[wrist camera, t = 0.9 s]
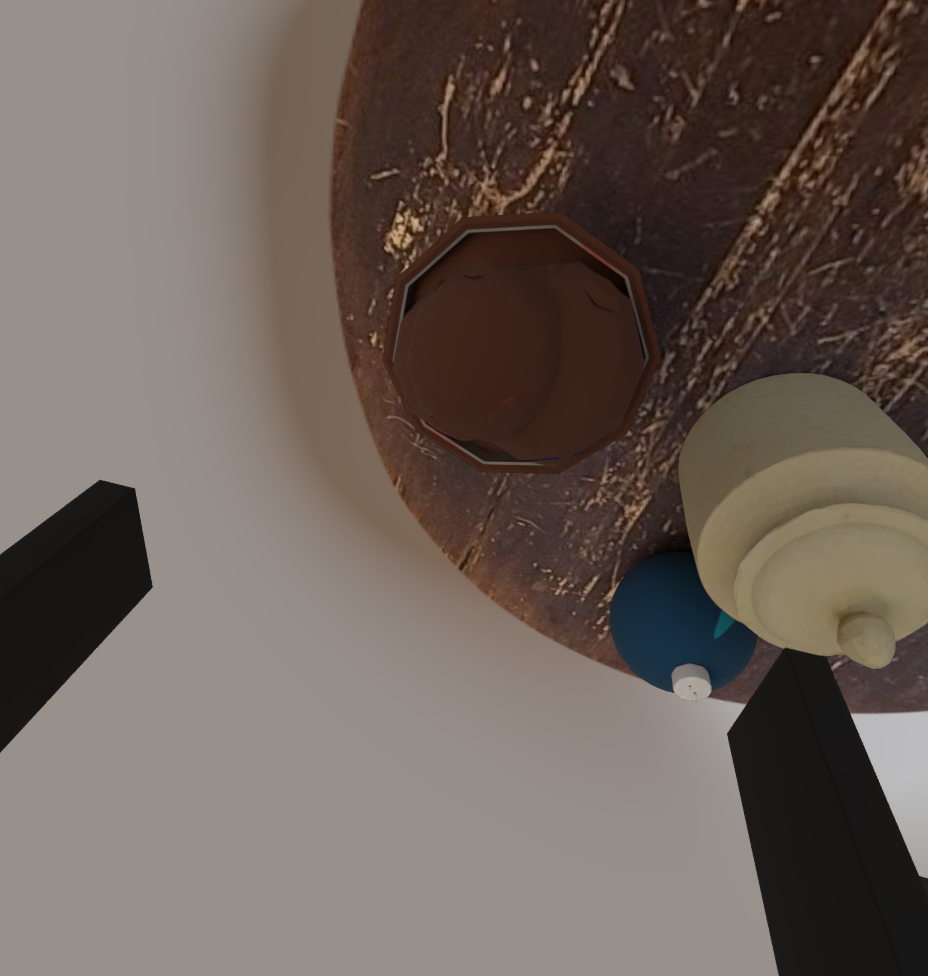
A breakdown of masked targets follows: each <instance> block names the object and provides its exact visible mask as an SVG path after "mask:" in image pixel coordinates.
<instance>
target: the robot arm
mask: <svg viewBox="0 0 928 976" xmlns="http://www.w3.org/2000/svg"><path fill="white" fill-rule="evenodd" d="M152 587H153V586H152V580H151V575H150V569H149V564H148V558H147V553H146V547H145V542H144V536H143V531H142V525H141V519H140V514H139V508H138V503H137V498H136V492H135V489H134V488H131V487H127V486H123V485H118V484H115V483H110V482H107V481H102V480H99V481H98V482H96V483H95V484H94V485H92V486H91V487H90V488H88V489H87V490H86V491H84V492H83V493H82V494H80V495H79V496H78V497H77V498H75V499H74V500H72V501H71V502H70V503H68V504H67V505H66V506H64V507H63V508H62V509H61V510H59V511H58V512H56V513H55V514H54V515H52V516H51V517H50V518H48V519H47V520H46V521H44V522H43V523H42V524H40V525H39V526H38V527H36V528H35V529H34V530H32V531H31V532H30V533H28V534H27V535H26V536H24V537H23V538H22V539H20V540H19V541H18V542H16V543H15V544H14V545H12V546H11V547H10V548H8V549H7V550H6V551H4V552H3V553H2V554H1V555H0V752H1V751H2V750H3V749H4V748H5V747H6V746H7V745H8V744H9V742H10V741H11V740H12V739H13V738H14V737H15V736H16V735H17V734H18V733H19V732H20V731H21V730H22V728H23V727H24V726H25V725H26V724H27V723H28V722H29V721H30V720H31V719H32V717H34V715H35V714H36V713H37V712H38V711H39V710H40V709H41V708H42V707H43V706H44V705H45V704H46V702H47V701H48V700H49V699H50V698H51V697H52V696H53V695H54V694H55V693H56V692H57V690H58V689H59V688H60V687H61V686H62V685H63V684H64V683H65V682H66V681H67V680H68V679H69V677H70V676H71V675H72V674H73V673H74V672H75V671H76V670H77V669H78V668H79V667H80V666H81V665H82V663H83V662H84V661H85V660H86V659H87V658H88V657H89V655H91V654H92V653H93V651H94V650H95V649H96V648H97V647H98V646H99V645H100V644H101V643H102V642H103V641H104V640H105V638H106V637H107V636H108V635H109V634H110V633H111V632H112V631H113V630H114V629H115V627H116V626H117V625H118V624H119V623H120V622H121V621H122V620H123V619H124V618H125V617H126V616H127V615H128V613H129V612H130V611H131V610H132V609H133V608H134V607H135V606H136V605H137V604H138V603H139V602H140V600H141V599H142V598H143V597H144V596H145V595H146V594H147V593H148V592H149V591H150V590H151V589H152ZM727 736H728V740H729V745H730V750H731V754H732V759H733V764H734V768H735V773H736V777H737V782H738V787H739V792H740V796H741V801H742V805H743V810H744V815H745V820H746V825H747V829H748V834H749V839H750V843H751V848H752V852H753V857H754V861H755V866H756V871H757V876H758V880H759V885H760V890H761V894H762V899H763V904H764V908H765V913H766V918H767V923H768V927H769V932H770V936H771V941H772V946H773V950H774V955H775V960H776V964H777V969H778V974H779V976H928V878H924V877H921V876H919V875H918V872H917V870H916V867H915V865H914V863H913V861H912V858H911V856H910V853H909V851H908V849H907V846H906V844H905V842H904V839H903V837H902V835H901V832H900V830H899V827H898V825H897V823H896V821H895V818H894V816H893V814H892V811H891V809H890V806H889V804H888V802H887V799H886V797H885V794H884V792H883V790H882V787H881V785H880V783H879V780H878V778H877V776H876V773H875V771H874V769H873V766H872V764H871V762H870V759H869V757H868V754H867V752H866V750H865V747H864V745H863V743H862V740H861V738H860V736H859V733H858V731H857V729H856V726H855V724H854V722H853V719H852V717H851V714H850V712H849V710H848V707H847V705H846V703H845V700H844V698H843V696H842V693H841V691H840V689H839V686H838V684H837V681H836V679H835V677H834V674H833V672H832V670H831V667H830V665H829V663H828V660H827V658H826V657H823V656H819V655H815V654H811V653H807V652H803V651H799V650H795V649H791V648H786V647H785V648H784V650H783V651H782V653H781V654H780V656H779V657H778V659H777V660H776V662H775V663H774V665H773V666H772V668H771V669H770V671H769V672H768V674H767V675H766V677H765V678H764V679H763V681H762V682H761V684H760V685H759V687H758V688H757V690H756V691H755V693H754V694H753V696H752V697H751V699H750V700H749V702H748V703H747V705H746V706H745V708H744V709H743V711H742V712H741V714H740V715H739V717H738V718H737V720H736V721H735V723H734V724H733V726H732V727H731V729H730V730H729V732H728V733H727Z"/></svg>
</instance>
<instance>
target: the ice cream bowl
mask: <svg viewBox="0 0 928 976" xmlns="http://www.w3.org/2000/svg"><path fill="white" fill-rule="evenodd" d="M660 359H661V354H660V350H659V346H658V343H657V339H656V335H655V331H654V327H653V323H652V319H651V315H650V311H649V307H648V304H647V300H646V296H645V292H644V288H643V284H642V280H641V276H640V272H639V269H638V268H637V267H635V266H634V265H633V264H631V263H630V262H628V261H627V260H626V259H624V258H623V257H622V256H620V255H619V254H617V253H616V252H615V251H613V250H612V249H610V248H609V247H608V246H606V245H605V244H604V243H602V242H601V241H599V240H598V239H597V238H595V237H594V236H593V235H591V234H590V233H588V232H587V231H586V230H584V229H583V228H582V227H580V226H579V225H577V224H576V223H575V222H573V221H572V220H570V219H569V218H568V217H566V216H565V215H564V214H562V213H561V212H545V213H528V214H511V215H495V216H478V217H462V218H461V219H460V220H459V221H458V222H457V223H456V224H455V225H454V226H453V227H451V228H450V229H449V230H448V231H447V232H446V233H445V234H444V235H443V236H442V237H441V238H439V239H438V240H437V241H436V242H435V243H434V244H433V245H432V246H431V247H430V248H429V249H427V250H426V251H425V252H424V253H423V254H422V255H421V256H420V257H419V258H418V259H417V260H416V261H414V262H413V263H412V264H411V265H410V266H409V267H408V268H407V269H406V270H405V271H404V272H402V273H401V274H400V275H399V276H398V277H397V278H396V280H395V286H394V292H393V298H392V304H391V310H390V317H389V323H388V329H387V335H386V341H385V347H384V353H383V359H382V361H383V363H384V365H385V367H386V369H387V372H388V374H389V376H390V378H391V380H392V382H393V384H394V386H395V388H396V390H397V392H398V394H399V396H400V398H401V400H402V403H403V405H404V407H405V409H406V411H407V413H408V415H409V417H410V419H411V421H412V423H413V425H414V427H415V429H416V431H417V432H418V433H420V434H421V435H423V436H425V437H426V438H428V439H429V440H431V441H433V442H434V443H436V444H437V445H439V446H441V447H442V448H444V449H445V450H447V451H448V452H450V453H452V454H453V455H455V456H456V457H458V458H460V459H461V460H463V461H464V462H466V463H468V464H469V465H471V466H472V467H474V468H476V469H477V470H479V471H480V472H494V473H534V474H560V473H561V472H563V471H565V470H566V469H568V468H570V467H571V466H573V465H575V464H576V463H578V462H580V461H582V460H583V459H585V458H587V457H588V456H590V455H592V454H593V453H595V452H597V451H598V450H600V449H602V448H604V447H605V446H607V445H609V444H610V443H612V442H614V441H615V440H617V439H619V438H620V437H622V436H624V435H626V434H627V432H628V430H629V428H630V426H631V423H632V421H633V419H634V417H635V414H636V412H637V410H638V408H639V406H640V403H641V401H642V399H643V397H644V394H645V392H646V390H647V388H648V385H649V383H650V381H651V379H652V377H653V374H654V372H655V370H656V368H657V365H658V363H659V361H660Z"/></svg>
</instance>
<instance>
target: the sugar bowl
mask: <svg viewBox="0 0 928 976" xmlns="http://www.w3.org/2000/svg"><path fill="white" fill-rule="evenodd" d="M678 471H679V483H680V488H681V494H682V500H683V507H684V513H685V519H686V524H687V530H688V534H689V538H690V543H691V547H692V551H693V554H694V558H695V562H696V566H697V570H698V573H699V577H700V579H701V582H702V584H703V586H704V588H705V590H706V592H707V593H708V595H709V596H710V597H711V599H712V600H713V601H714V602H715V603H716V604H717V605H718V606H719V607H720V608H721V609H722V610H723V611H725V612H726V613H727V614H728V615H730V616H731V617H733V618H734V619H735V620H737V621H739V622H741V623H743V624H745V625H746V626H747V627H748V628H749V629H751V630H752V631H753V632H754V633H755V634H757V635H758V636H759V637H760V638H762V639H764V640H765V641H767V642H769V643H771V644H774V645H776V646H778V647H781V648H783V649H784V648H785V647H786V648H791V649H795V650H799V651H803V652H807V653H811V654H815V655H825V656H831V655H836V654H843V655H847V656H848V657H849V658H850V659H852V660H854V661H856V662H858V663H860V664H862V665H865V666H867V667H870V668H873V669H875V668H883V667H885V666H886V665H888V664H889V663H890V662H891V659H892V657H893V655H894V653H895V641H898V640H900V639H902V638H904V637H906V636H908V635H909V634H911V633H913V632H914V631H916V630H917V629H919V628H920V627H922V626H924V625H925V624H926V623H927V622H928V458H927V457H926V456H925V454H924V453H923V452H922V451H921V450H920V448H919V447H918V446H917V445H916V444H915V443H914V442H913V441H912V440H911V439H910V438H909V437H908V435H907V434H906V433H905V432H904V431H903V430H902V429H901V428H900V427H899V426H897V425H896V424H895V423H894V422H893V421H892V420H891V418H890V417H889V416H888V415H886V414H885V413H884V412H883V411H882V410H881V409H880V408H879V407H878V406H877V404H876V403H875V402H873V401H872V400H871V399H870V398H869V397H868V396H867V395H866V394H865V393H863V392H862V391H861V390H859V389H858V388H856V387H855V386H852V385H850V384H848V383H846V382H844V381H842V380H839V379H835V378H832V377H829V376H826V375H821V374H812V373H789V374H781V375H774V376H769V377H765V378H761V379H757V380H755V381H752V382H749V383H747V384H744V385H742V386H740V387H739V388H737V389H735V390H733V391H731V392H729V393H727V394H726V395H724V396H723V397H722V398H720V399H719V400H718V401H717V402H715V403H714V404H713V405H711V406H710V407H709V408H708V409H707V410H706V411H705V412H704V413H703V414H702V415H701V416H700V417H699V419H698V420H697V421H696V422H695V424H694V425H693V427H692V428H691V430H690V432H689V434H688V435H687V437H686V439H685V441H684V444H683V447H682V449H681V452H680V458H679V466H678Z"/></svg>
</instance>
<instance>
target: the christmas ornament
mask: <svg viewBox="0 0 928 976" xmlns="http://www.w3.org/2000/svg"><path fill="white" fill-rule="evenodd" d="M610 627H611V633H612V637H613V640H614V643H615V645H616V648H617V650H618V652H619V654H620V655H621V657H622V658H623V660H624V661H625V663H626V664H627V665H628V666H629V667H630V668H631V670H632V671H633V672H634V673H635V674H637V675H638V676H639V677H640V678H642V679H643V680H645V681H646V682H648V683H649V684H651V685H653V686H655V687H657V688H660V689H662V690H665V691H669V692H672V693H675V694H676V695H677V696H678V697H679V698H681V699H684V700H687V701H695V702H696V701H698V700H702V699H705V698H706V697H708V696H709V694H710V693H711V691H713V690H716V689H719V688H721V687H723V686H724V685H726V684H728V683H730V682H731V681H732V680H734V679H735V678H736V677H737V676H738V675H739V674H740V673H741V672H742V671H743V670H744V668H745V667H746V666H747V664H748V663H749V661H750V659H751V657H752V655H753V653H754V650H755V647H756V643H757V637H758V635H757V634H755V633H754V632H753V631H752V630H751V629H749V628H748V627H747V626H746V625H745V624H743V623H741V622H739V621H737V620H735V619H734V618H733V617H731V616H730V615H728V614H727V613H726V612H725V611H723V610H722V609H721V608H720V607H719V606H718V605H717V604H716V603H715V602H714V601H713V600H712V599H711V597H710V596H709V595H708V593H707V592H706V590H705V588H704V586H703V584H702V582H701V579H700V577H699V573H698V570H697V566H696V562H695V558H694V554H693V553H689V552H668V553H662V554H658V555H655V556H652V557H650V558H648V559H646V560H644V561H642V562H640V563H639V564H637V565H636V566H635V567H633V568H632V569H631V570H630V571H629V572H628V573H627V574H626V575H625V576H624V578H623V579H622V580H621V582H620V583H619V585H618V587H617V589H616V591H615V593H614V596H613V599H612V603H611V608H610Z"/></svg>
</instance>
